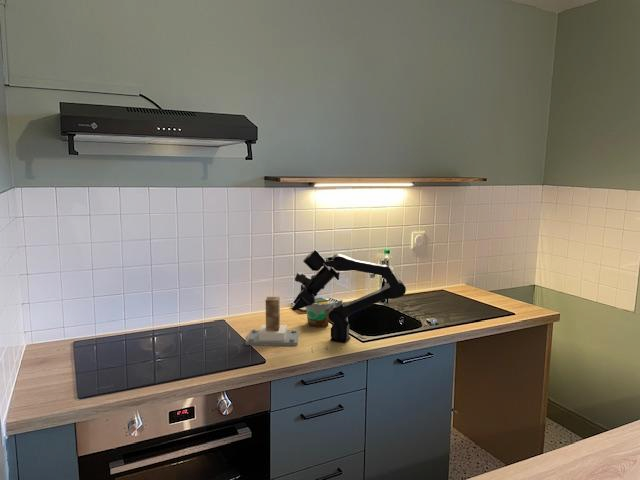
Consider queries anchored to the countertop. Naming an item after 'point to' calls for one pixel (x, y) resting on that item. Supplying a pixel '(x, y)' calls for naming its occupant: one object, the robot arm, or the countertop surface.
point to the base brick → (273, 336)
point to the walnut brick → (272, 313)
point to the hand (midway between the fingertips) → (293, 306)
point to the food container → (318, 314)
